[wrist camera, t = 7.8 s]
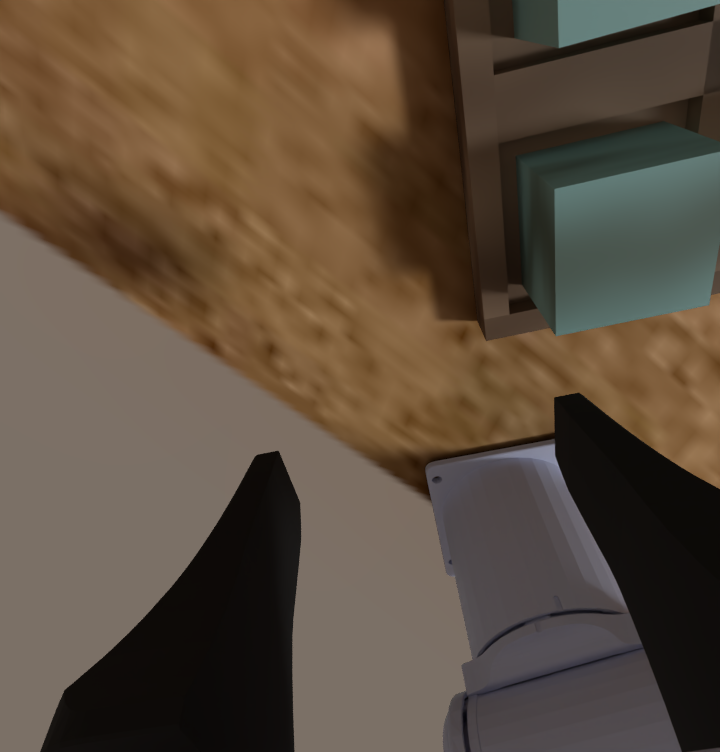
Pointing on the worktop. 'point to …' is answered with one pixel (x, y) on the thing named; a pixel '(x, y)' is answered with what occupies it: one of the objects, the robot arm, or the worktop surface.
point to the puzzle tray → (557, 112)
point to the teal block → (590, 17)
